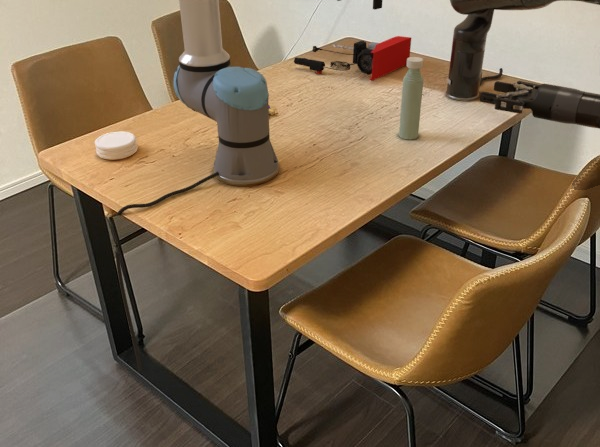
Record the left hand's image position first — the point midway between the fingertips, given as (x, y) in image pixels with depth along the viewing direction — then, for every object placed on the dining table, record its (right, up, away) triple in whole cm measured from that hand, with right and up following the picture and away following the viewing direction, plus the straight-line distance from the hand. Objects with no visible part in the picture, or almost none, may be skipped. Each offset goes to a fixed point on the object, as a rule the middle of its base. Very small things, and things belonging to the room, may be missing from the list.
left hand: (358, 4), depth 166 cm
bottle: (+12, -36, -5) cm, 38 cm away
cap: (+12, -19, -15) cm, 27 cm away
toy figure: (-28, -27, +11) cm, 40 cm away
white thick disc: (-62, -41, -11) cm, 75 cm away
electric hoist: (+2, -6, +43) cm, 44 cm away
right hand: (+28, -28, -23) cm, 46 cm away
